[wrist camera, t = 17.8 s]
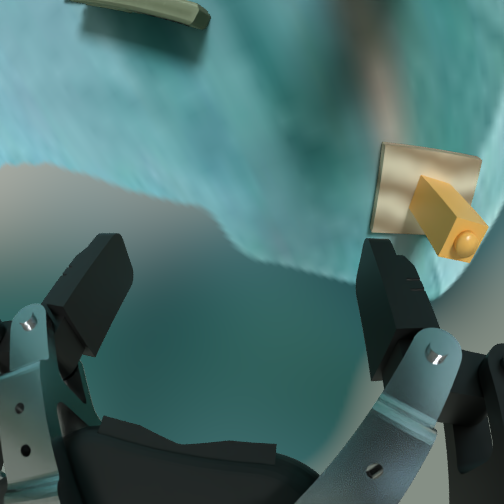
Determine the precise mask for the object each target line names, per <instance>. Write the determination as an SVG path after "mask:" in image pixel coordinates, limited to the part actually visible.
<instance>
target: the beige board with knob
mask: <svg viewBox="0 0 504 504" xmlns="http://www.w3.org/2000/svg"><path fill="white" fill-rule="evenodd" d="M481 163H482V160H481V159H480V158H479V157H477V156H472V155H467V154H462V153H456V152H451V151H445V150H439V149H433V148H426V147H419V146H412V145H404V144H396V143H387V142H382V149H381V158H380V166H379V173H378V181H377V187H376V194H375V200H374V206H373V212H372V218H371V224H370V229H371V231H372V232H374V233H398V234H420V235H425V233H424V231H423V230H422V228H421V226H420V225H419V223H418V222H417V220H416V218H415V217H414V215H413V214H412V212H411V211H410V209H409V206H410V203H411V200H412V198H413V195H414V192H415V190H416V187H417V184H418V181H419V178H420V176H421V175H424V176H427V177H430V178H433V179H436V180H439V181H443V182H446V183H449V184H451V185H452V186H453V187H454V189H455V190H456V191H457V192H458V193H459V194H460V195H461V196H462V197H463V198H464V199H465V200H466V201H467V202H468V203H469V205H470V206H471V203H472V199H473V195H474V192H475V188H476V184H477V180H478V176H479V172H480V168H481Z"/></svg>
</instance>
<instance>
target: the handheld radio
mask: <svg viewBox="0 0 504 504" xmlns="http://www.w3.org/2000/svg"><path fill="white" fill-rule="evenodd" d="M70 1H73V2H79V3H85V4H87V5H91V6H97V7H101V8H108V9H114V10H119V11H124V12H129V13H132V12H135V13H139V14H140V13H142V14H146V15H150V16H154V17H159V18H162V19H166V20H170V21H173V22H177V23H180V24H184V25H186V26H190V27H194V28H197V29H200V30H203V29H205V28H206V27H207V25H208V23H209V21H210V19H211V16H210V14H208V11H207V10H206V9H204V8H203V7H201V6H200V5H199V4H197V3H194V2H191V1H187V0H70Z"/></svg>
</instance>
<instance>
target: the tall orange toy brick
mask: <svg viewBox="0 0 504 504" xmlns="http://www.w3.org/2000/svg"><path fill="white" fill-rule="evenodd" d="M409 209H410V211H411V212H412V214H413V215H414V217H415V218H416V220H417V222H418V223H419V225H420V226H421V228H422V230H423V231H424V233H425V235H426V236H427V238H428V240H429V241H430V243H431V245H432V247H433V248H434V250H435V252H436V254H437V255H438V256H439V257H444V258H449V259H454V260H458V261H463V262H468V263H470V261H471V259H472V258H473V256H474V254H475V252H476V250H477V249H478V247H479V245H480V243H481V241H482V239H483V237H484V235H485V233H486V231H487V229H488V225H487V224H486V223H485V222H484V221H483V219H482V218H481V217H480V216H479V215H478V214H477V212H476V211H475V210H474V209H473V208H472V207H471V206H470V205H469V203H468V202H467V201H466V200H465V199H464V198H463V197H462V196H461V195H460V194H459V193H458V192H457V191H456V190H455V189H454V187H453V186H452V185H451V184H449V183H446V182H443V181H439V180H436V179H433V178H430V177H427V176H424V175H421V176H420V178H419V181H418V184H417V187H416V190H415V192H414V195H413V198H412V200H411V203H410V206H409Z"/></svg>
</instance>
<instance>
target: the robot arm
mask: <svg viewBox="0 0 504 504" xmlns="http://www.w3.org/2000/svg"><path fill="white" fill-rule="evenodd" d="M132 282H133V268H132V265H131V262H130V259H129V256H128V253H127V251H126V247H125V244H124V241H123V239H122V236H121V235H120V234H117V233H101V234H98V235H97V236H96V237H95V239H94V240H93V241H92V242H91V243H90V245H89V246H88V247H87V248H86V249H84V250H83V251H82V252H81V253H79V254H78V255H77V256H76V257H75V258H74V259H73V261H72V262H71V263H70V265H69V268H67V269H66V270H65V271H64V273H63V276H61V277H60V278H59V279H58V281H57V282H56V283H55V285H54V286H53V288H52V289H51V290H50V292H49V293H48V295H47V296H46V297H45V299H44V300H43V302H42V303H41V304H31V305H28V306H26V307H24V308H23V309H21V310H20V311H19V312H18V313H17V314H16V316H15V317H14V319H13V320H12V321H5V322H2V321H1V320H0V504H398V503H399V502H400V500H401V499H402V497H403V495H404V494H405V492H406V491H407V489H408V488H409V486H410V485H411V483H412V481H413V480H414V478H415V476H416V474H417V473H418V471H419V469H420V468H421V466H422V464H423V462H424V461H425V459H426V457H427V455H428V453H429V451H430V449H431V447H432V445H433V443H434V441H435V439H436V435H437V430H436V429H434V427H435V424H436V422H443V423H444V431H445V439H446V449H447V460H448V474H449V501H450V502H449V504H504V344H502V343H501V344H497V345H495V346H494V347H493V348H492V349H491V350H490V351H489V353H488V354H487V355H484V354H479V353H474V352H469V351H465V350H462V349H461V347H460V345H459V343H458V341H457V340H456V339H455V338H454V337H453V336H452V335H451V334H450V333H448V332H446V331H445V330H442V329H440V327H439V325H438V322H437V319H436V317H435V314H434V311H433V309H432V306H431V304H430V301H429V299H428V296H427V294H426V291H424V287H423V284H422V282H421V281H420V277H419V275H418V273H417V271H416V268H415V266H414V265H413V264H412V263H411V262H410V261H409V260H408V259H407V258H406V257H405V256H403V255H396V253H395V250H394V248H393V246H392V243H391V241H390V240H389V239H374V238H366V239H365V241H364V244H363V249H362V254H361V259H360V263H359V268H358V273H357V278H356V295H357V300H358V306H359V311H360V317H361V322H362V327H363V333H364V338H365V344H366V351H367V356H368V363H369V370H370V377H371V381H381V380H383V384H384V391H383V392H382V394H381V395H380V397H379V398H378V400H377V402H376V403H375V404H374V406H373V407H372V409H371V410H370V412H369V413H368V415H367V416H366V418H365V419H364V420H363V422H362V423H361V425H360V426H359V428H358V429H357V430H356V432H355V433H354V434H353V436H352V437H351V438H350V440H349V441H348V443H346V445H345V446H344V447H343V449H342V450H341V451H340V453H339V454H338V455H337V456H336V457H335V459H334V460H333V461H332V463H331V464H330V465H329V466H328V467H327V468H326V469H325V471H324V472H323V473H322V474H321V475H319V474H318V473H317V472H316V471H314V470H313V469H311V468H310V467H308V466H307V465H305V464H303V463H301V462H300V461H298V460H296V459H293V458H290V457H288V456H285V455H282V454H278V453H276V444H265V443H251V442H250V443H249V442H237V441H221V442H211V443H200V444H186V445H181V444H177V443H175V442H173V441H170V440H168V439H166V438H164V437H162V436H160V435H158V434H156V433H154V432H152V431H150V430H148V429H146V428H144V427H142V426H140V425H137V424H133V423H129V422H125V421H121V420H118V419H114V418H110V417H107V416H103V419H102V422H101V420H100V419H99V417H98V416H97V414H96V412H95V410H94V407H93V404H92V400H91V396H90V392H89V389H88V385H87V381H86V376H85V372H84V368H83V364H82V363H81V361H80V358H81V356H82V354H83V355H88V356H92V357H96V355H97V352H98V350H99V348H100V346H101V344H102V342H103V340H104V338H105V336H106V334H107V332H108V330H109V327H110V326H111V323H112V321H113V320H114V318H115V316H116V314H117V312H118V310H119V308H120V306H121V304H122V302H123V300H124V298H125V297H126V295H127V293H128V291H129V289H130V287H131V285H132ZM487 416H488V417H487ZM488 418H489V422H488ZM489 424H490V427H489ZM490 429H491V433H490ZM491 435H492V439H491ZM492 440H493V446H492ZM3 463H4V467H5V472H6V474H5V473H4V472H2V471H1V470H2V466H3Z"/></svg>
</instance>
